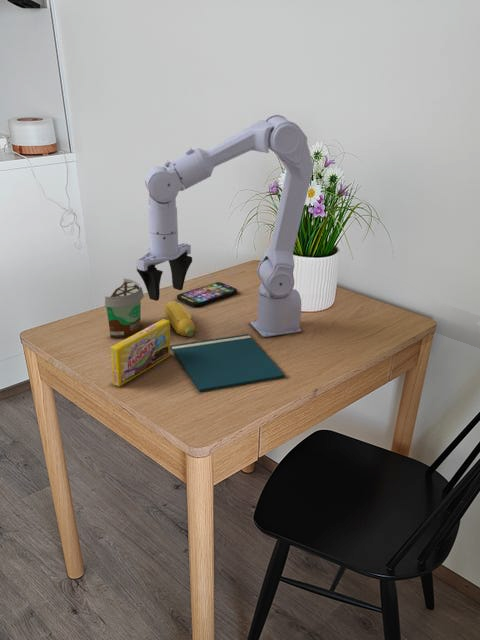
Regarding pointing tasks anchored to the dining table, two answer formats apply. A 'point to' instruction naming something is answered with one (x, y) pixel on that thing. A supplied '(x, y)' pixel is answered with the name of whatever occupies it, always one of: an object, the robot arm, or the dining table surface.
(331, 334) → the dining table surface
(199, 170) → the robot arm
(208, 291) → the smartphone
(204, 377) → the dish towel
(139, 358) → the candy box
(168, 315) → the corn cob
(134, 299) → the food container
